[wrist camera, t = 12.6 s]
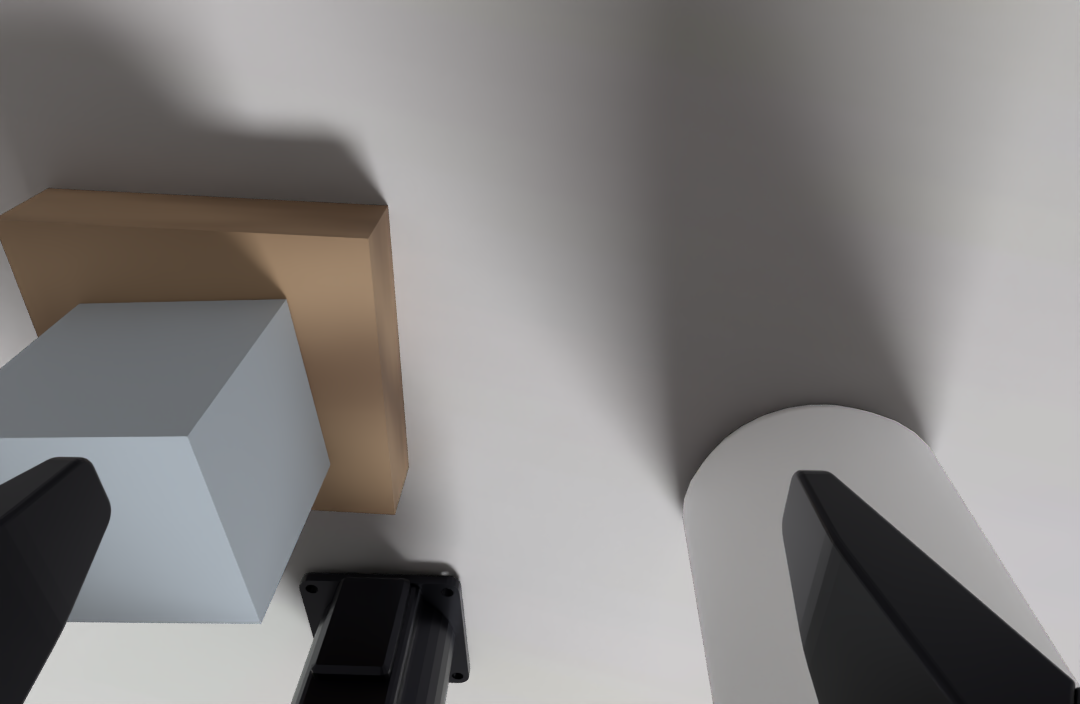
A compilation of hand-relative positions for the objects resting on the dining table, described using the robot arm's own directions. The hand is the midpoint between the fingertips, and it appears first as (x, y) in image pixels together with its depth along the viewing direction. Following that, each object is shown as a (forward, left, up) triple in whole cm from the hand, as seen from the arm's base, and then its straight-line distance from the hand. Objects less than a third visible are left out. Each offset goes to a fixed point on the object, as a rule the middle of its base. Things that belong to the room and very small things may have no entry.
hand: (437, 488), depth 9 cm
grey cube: (-6, +9, -11) cm, 15 cm away
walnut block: (-6, +9, -14) cm, 17 cm away
